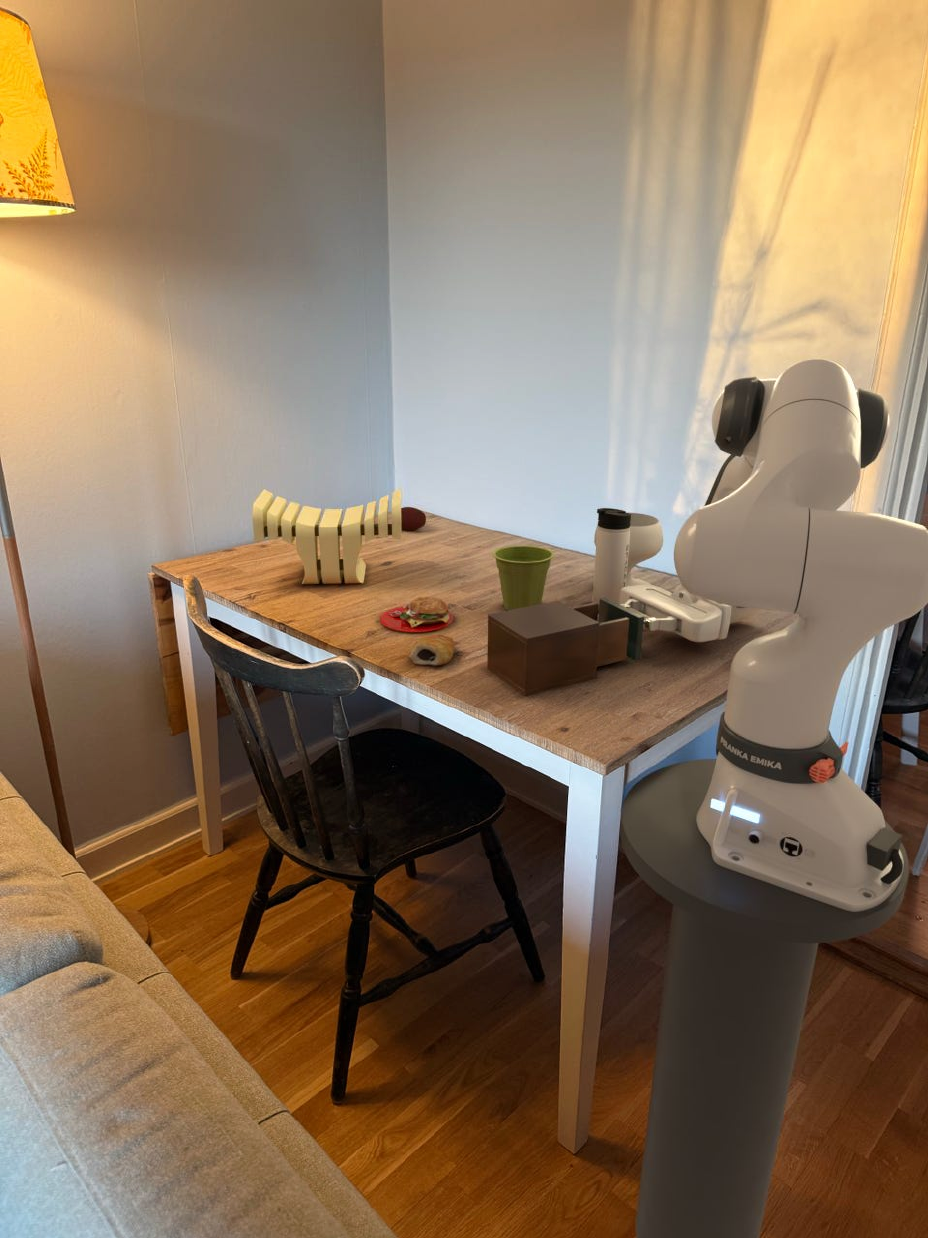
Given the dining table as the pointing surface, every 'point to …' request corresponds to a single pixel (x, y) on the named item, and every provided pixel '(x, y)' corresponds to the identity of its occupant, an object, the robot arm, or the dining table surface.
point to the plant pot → (522, 574)
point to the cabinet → (542, 647)
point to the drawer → (616, 630)
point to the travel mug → (611, 554)
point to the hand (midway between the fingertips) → (633, 617)
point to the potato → (412, 518)
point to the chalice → (642, 543)
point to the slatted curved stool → (326, 534)
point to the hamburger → (418, 615)
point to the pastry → (433, 650)
